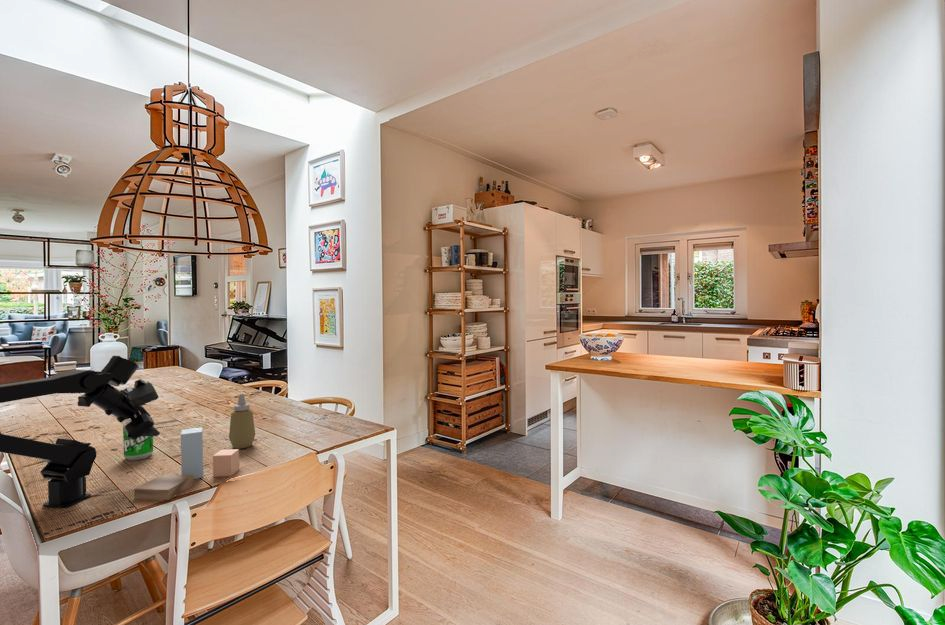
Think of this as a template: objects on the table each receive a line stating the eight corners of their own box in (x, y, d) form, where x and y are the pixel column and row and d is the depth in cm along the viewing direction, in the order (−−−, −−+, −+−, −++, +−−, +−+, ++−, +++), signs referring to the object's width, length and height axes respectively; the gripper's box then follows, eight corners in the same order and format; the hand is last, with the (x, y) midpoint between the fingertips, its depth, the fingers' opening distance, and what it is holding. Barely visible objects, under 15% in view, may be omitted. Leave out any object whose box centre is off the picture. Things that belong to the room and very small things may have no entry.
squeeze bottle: (231, 444, 150) (230, 392, 150) (256, 441, 153) (256, 390, 153) (227, 451, 143) (226, 397, 142) (254, 448, 146) (253, 395, 145)
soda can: (122, 457, 138) (121, 419, 138) (151, 451, 143) (150, 415, 143) (125, 463, 133) (124, 424, 132) (155, 457, 138) (154, 419, 137)
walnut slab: (168, 501, 108) (167, 489, 108) (134, 500, 109) (134, 488, 109) (194, 486, 117) (193, 475, 117) (162, 485, 118) (162, 474, 118)
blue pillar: (181, 481, 119) (180, 434, 119) (182, 474, 124) (181, 429, 123) (202, 477, 122) (202, 431, 122) (203, 471, 126) (202, 427, 126)
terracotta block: (231, 475, 123) (231, 455, 123) (213, 476, 123) (212, 455, 122) (239, 469, 128) (238, 449, 128) (221, 469, 127) (221, 449, 127)
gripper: (149, 396, 115) (189, 423, 127) (130, 362, 125) (168, 390, 137) (108, 427, 111) (153, 452, 122) (91, 389, 121) (134, 415, 133)
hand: (153, 425), depth 129 cm, fingers open, 9 cm apart
